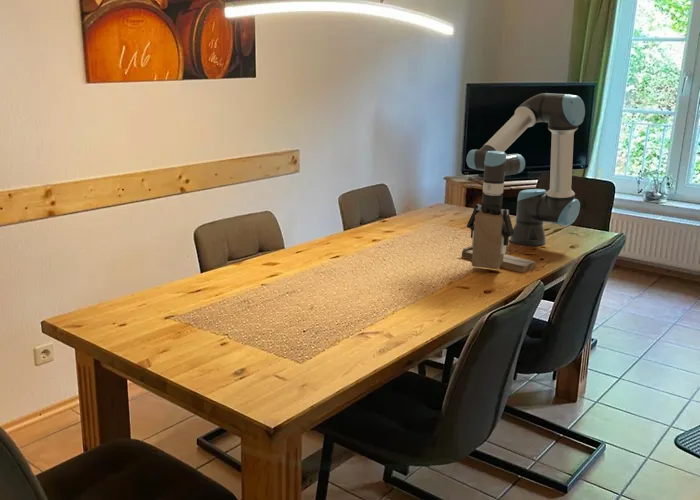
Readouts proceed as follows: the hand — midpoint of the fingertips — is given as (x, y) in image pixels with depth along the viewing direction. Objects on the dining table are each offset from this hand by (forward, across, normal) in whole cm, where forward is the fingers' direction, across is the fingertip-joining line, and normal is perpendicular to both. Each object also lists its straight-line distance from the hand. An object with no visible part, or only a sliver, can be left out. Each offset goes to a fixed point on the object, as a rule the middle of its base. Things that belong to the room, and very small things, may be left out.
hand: (488, 250), depth 260 cm
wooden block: (+6, 0, 0) cm, 6 cm away
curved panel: (+8, -3, +12) cm, 15 cm away
